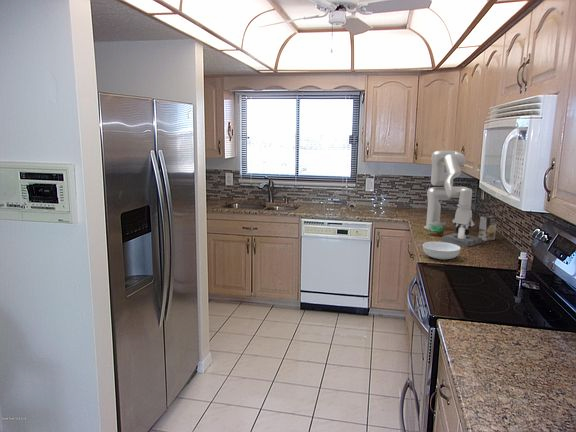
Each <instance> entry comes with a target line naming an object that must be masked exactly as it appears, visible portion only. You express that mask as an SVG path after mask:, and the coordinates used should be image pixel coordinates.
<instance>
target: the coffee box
mask: <svg viewBox="0 0 576 432" xmlns="http://www.w3.org/2000/svg"><path fill="white" fill-rule="evenodd" d="M479 219H480V220H479V229H478V236H477V237H480V238H482V241H484V242H485V241H493V240H495V239H496V229H497V225H498V224H497V223H498V221H497V220H498V216H494V215H481V216H480V218H479Z"/></svg>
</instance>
